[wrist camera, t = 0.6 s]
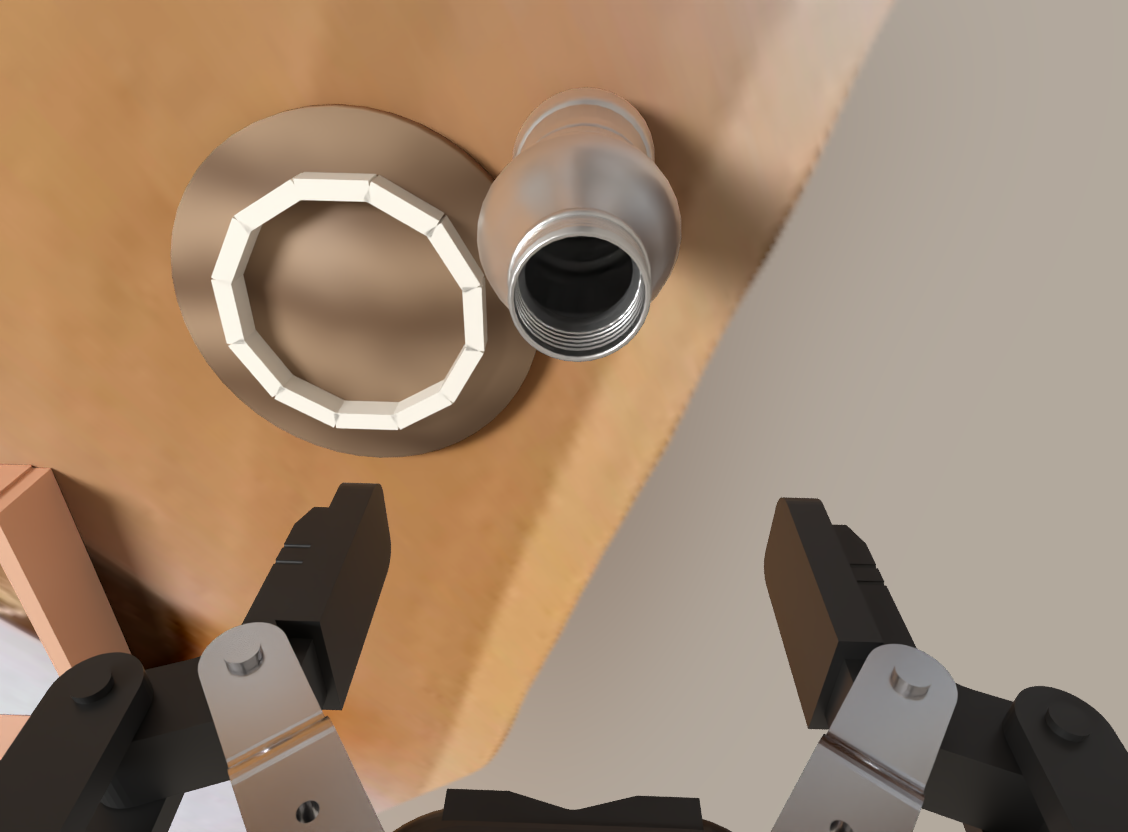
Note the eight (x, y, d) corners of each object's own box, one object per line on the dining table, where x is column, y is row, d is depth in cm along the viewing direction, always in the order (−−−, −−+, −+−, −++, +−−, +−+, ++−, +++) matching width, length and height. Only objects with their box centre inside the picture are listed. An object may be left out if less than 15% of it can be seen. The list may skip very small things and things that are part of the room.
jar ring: (199, 169, 35) (185, 175, 33) (481, 176, 34) (477, 183, 33) (257, 412, 42) (247, 425, 40) (490, 419, 42) (487, 432, 40)
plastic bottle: (668, 187, 36) (745, 358, 18) (547, 237, 37) (514, 440, 20) (623, 57, 33) (665, 116, 16) (494, 118, 34) (401, 234, 17)
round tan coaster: (135, 99, 34) (121, 102, 33) (543, 109, 34) (541, 112, 33) (228, 442, 44) (219, 452, 43) (541, 451, 44) (540, 462, 43)
